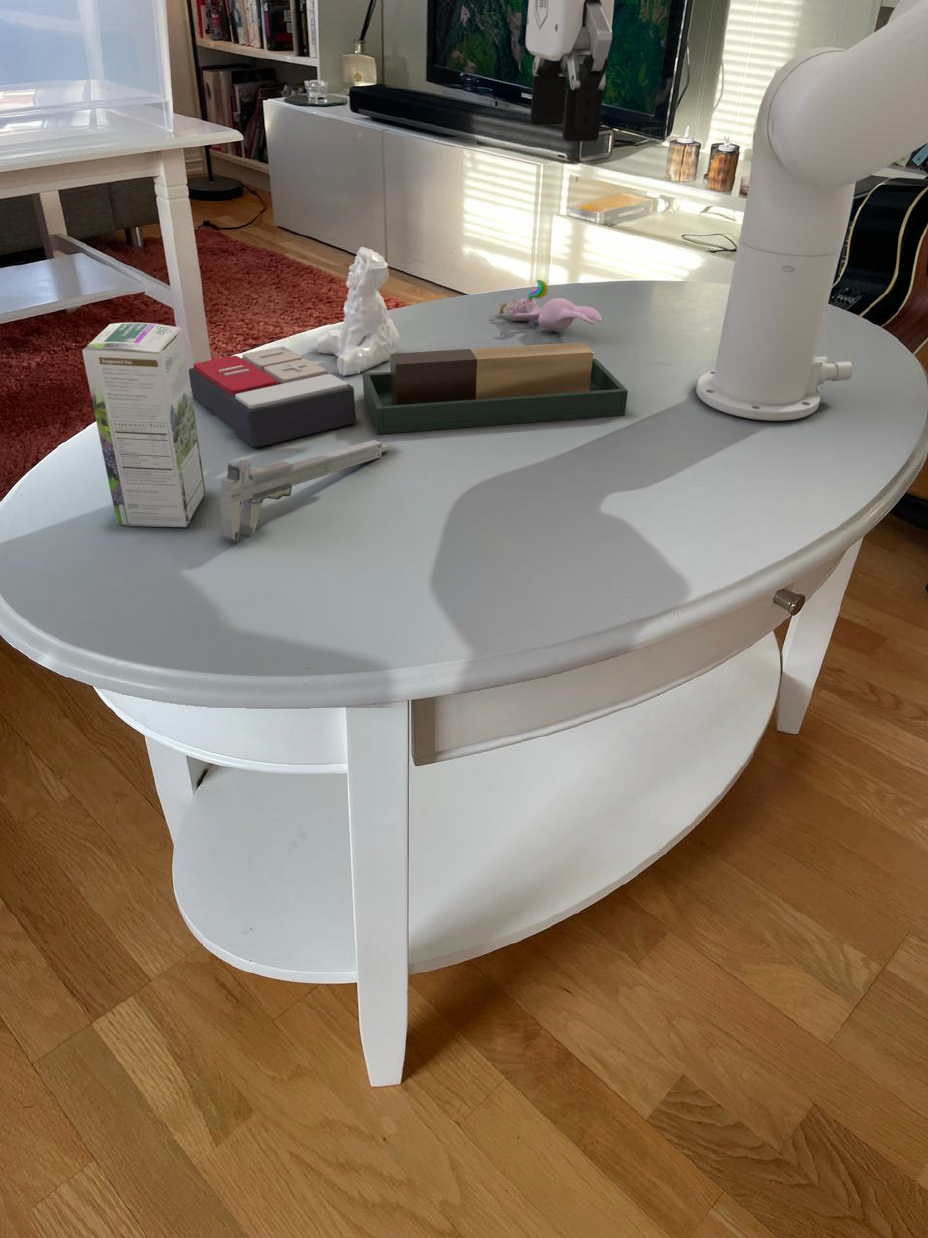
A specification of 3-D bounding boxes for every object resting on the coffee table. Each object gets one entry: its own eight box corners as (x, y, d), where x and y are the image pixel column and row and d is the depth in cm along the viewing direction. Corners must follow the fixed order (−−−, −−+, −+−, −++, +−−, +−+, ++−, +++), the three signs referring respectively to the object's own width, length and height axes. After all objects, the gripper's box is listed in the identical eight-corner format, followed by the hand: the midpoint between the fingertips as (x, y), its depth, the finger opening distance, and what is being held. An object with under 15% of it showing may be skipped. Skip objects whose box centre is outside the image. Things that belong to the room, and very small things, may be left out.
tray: (593, 381, 101) (596, 358, 99) (625, 415, 94) (628, 390, 92) (363, 397, 96) (362, 373, 94) (377, 434, 89) (376, 408, 87)
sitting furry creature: (312, 349, 107) (304, 240, 100) (381, 339, 110) (378, 233, 103) (342, 377, 100) (335, 262, 93) (414, 366, 103) (414, 254, 96)
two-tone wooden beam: (588, 399, 95) (593, 351, 92) (396, 413, 91) (395, 364, 88) (578, 388, 98) (583, 341, 95) (391, 401, 94) (390, 353, 91)
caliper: (235, 546, 72) (224, 473, 68) (224, 542, 72) (214, 469, 68) (390, 451, 86) (389, 386, 82) (381, 448, 86) (379, 383, 83)
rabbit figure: (490, 330, 118) (580, 342, 108) (486, 281, 115) (578, 288, 105) (524, 320, 121) (614, 331, 111) (522, 272, 119) (614, 278, 108)
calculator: (284, 341, 98) (355, 379, 88) (289, 381, 101) (358, 422, 90) (185, 361, 93) (247, 403, 83) (192, 402, 95) (253, 448, 85)
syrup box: (139, 492, 78) (104, 320, 70) (209, 495, 78) (182, 322, 70) (116, 526, 73) (76, 346, 65) (191, 529, 73) (160, 349, 65)
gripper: (507, -100, 82) (499, 118, 92) (571, -109, 68) (552, 148, 78) (588, -97, 84) (570, 117, 94) (665, -105, 70) (635, 147, 80)
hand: (562, 131), depth 86 cm, fingers open, 9 cm apart
